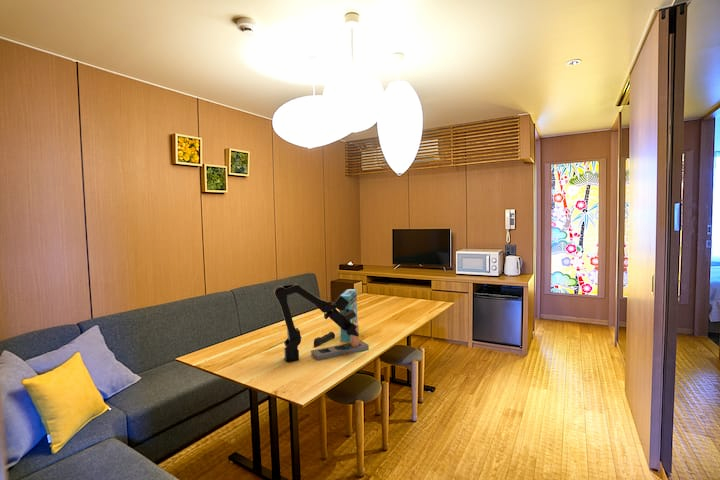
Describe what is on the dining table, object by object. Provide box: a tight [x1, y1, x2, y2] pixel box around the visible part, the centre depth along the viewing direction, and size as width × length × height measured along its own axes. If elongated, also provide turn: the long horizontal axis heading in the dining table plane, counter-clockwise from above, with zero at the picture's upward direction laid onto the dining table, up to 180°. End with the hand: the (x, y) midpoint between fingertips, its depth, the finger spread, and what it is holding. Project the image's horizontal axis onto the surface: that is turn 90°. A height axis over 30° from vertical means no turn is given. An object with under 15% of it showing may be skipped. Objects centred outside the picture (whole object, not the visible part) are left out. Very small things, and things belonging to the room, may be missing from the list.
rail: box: [310, 340, 370, 361], centre depth 204 cm, size 30×9×2 cm, turn 117°
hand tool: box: [313, 331, 336, 348], centre depth 221 cm, size 19×4×5 cm, turn 148°
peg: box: [350, 323, 360, 347], centre depth 208 cm, size 4×4×13 cm
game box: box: [339, 288, 359, 343], centre depth 230 cm, size 20×6×27 cm, turn 168°
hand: (357, 334), depth 208 cm, fingers closed on peg, 3 cm apart
